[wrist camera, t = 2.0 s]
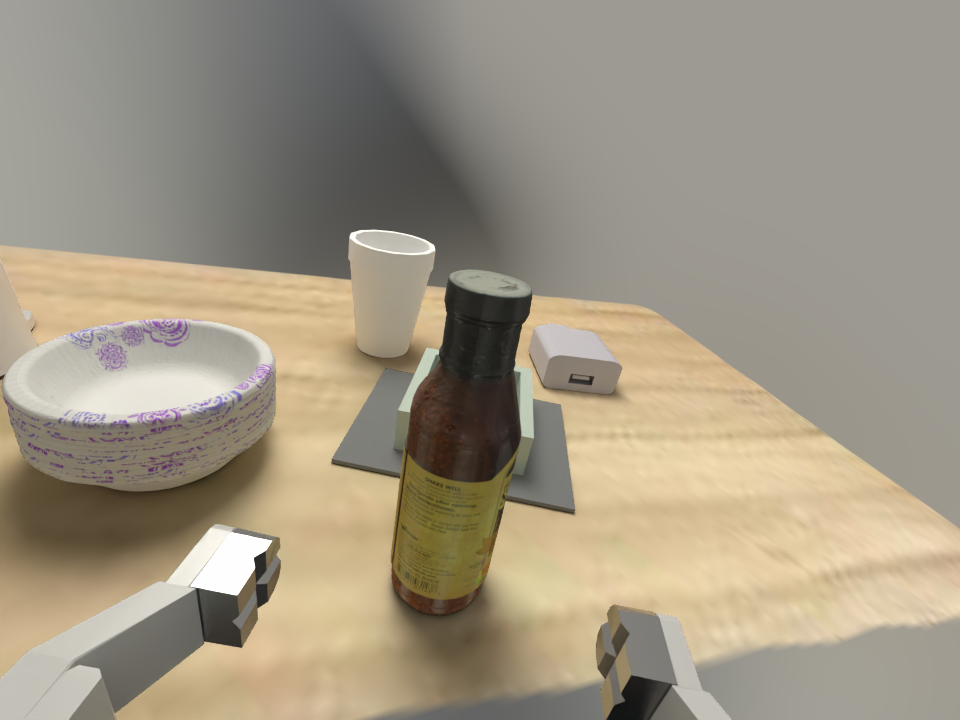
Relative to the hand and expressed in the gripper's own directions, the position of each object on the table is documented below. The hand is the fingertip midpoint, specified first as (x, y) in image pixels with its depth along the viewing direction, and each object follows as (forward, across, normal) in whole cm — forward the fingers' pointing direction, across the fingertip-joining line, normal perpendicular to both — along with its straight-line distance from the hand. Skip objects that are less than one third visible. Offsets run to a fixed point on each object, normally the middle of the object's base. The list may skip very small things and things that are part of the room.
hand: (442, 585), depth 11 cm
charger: (+49, -11, +16) cm, 53 cm away
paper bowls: (+19, +22, +16) cm, 33 cm away
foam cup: (+43, +12, +16) cm, 47 cm away
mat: (+29, 0, +16) cm, 33 cm away
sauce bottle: (+13, 0, +16) cm, 21 cm away
